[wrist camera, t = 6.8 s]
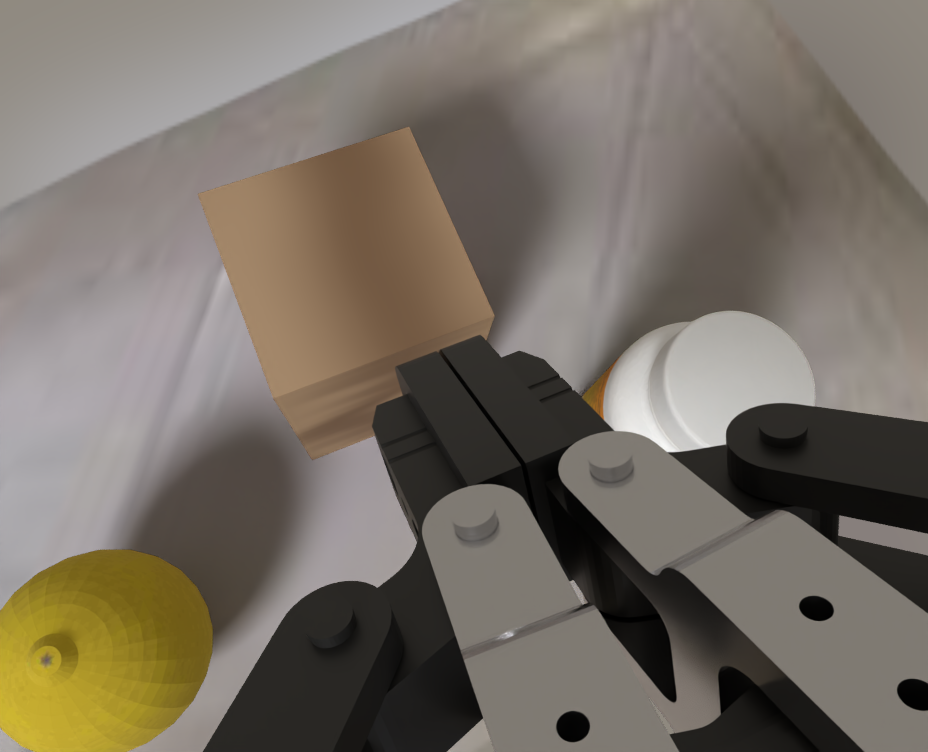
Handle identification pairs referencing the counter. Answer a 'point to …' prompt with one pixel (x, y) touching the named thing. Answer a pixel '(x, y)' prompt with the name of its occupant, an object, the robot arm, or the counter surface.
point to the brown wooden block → (345, 280)
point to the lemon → (101, 653)
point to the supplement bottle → (701, 379)
